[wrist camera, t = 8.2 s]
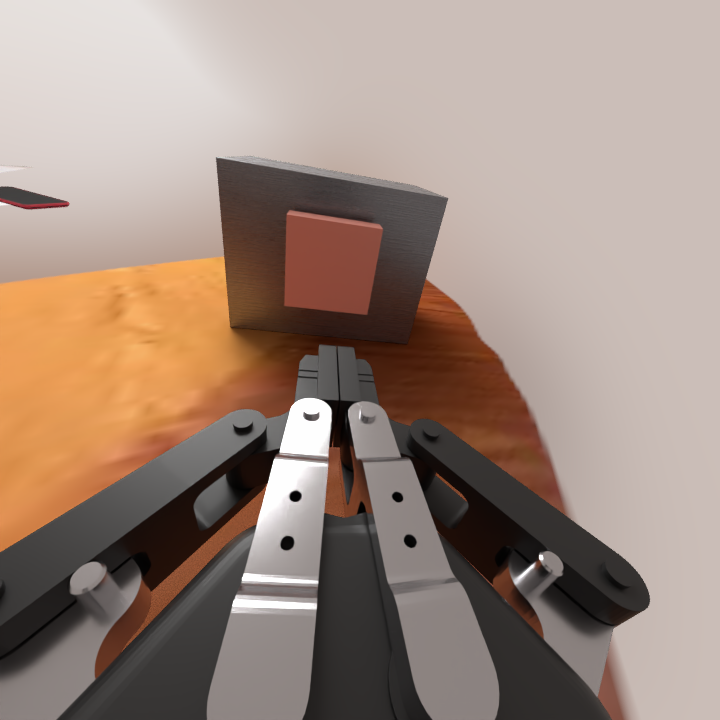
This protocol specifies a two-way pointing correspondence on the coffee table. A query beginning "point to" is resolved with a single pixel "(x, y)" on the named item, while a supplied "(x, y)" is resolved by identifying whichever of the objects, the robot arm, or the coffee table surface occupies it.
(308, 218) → the plug
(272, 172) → the block
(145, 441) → the coffee table surface
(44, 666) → the robot arm
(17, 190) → the smartphone
